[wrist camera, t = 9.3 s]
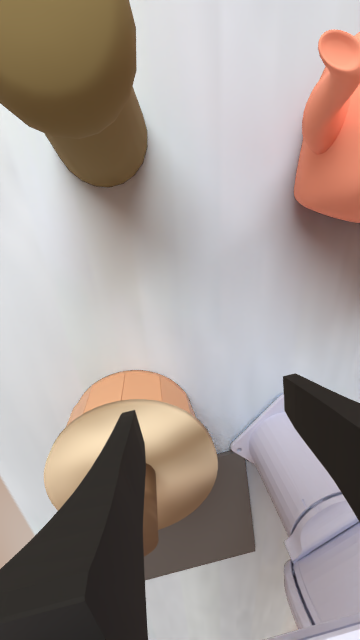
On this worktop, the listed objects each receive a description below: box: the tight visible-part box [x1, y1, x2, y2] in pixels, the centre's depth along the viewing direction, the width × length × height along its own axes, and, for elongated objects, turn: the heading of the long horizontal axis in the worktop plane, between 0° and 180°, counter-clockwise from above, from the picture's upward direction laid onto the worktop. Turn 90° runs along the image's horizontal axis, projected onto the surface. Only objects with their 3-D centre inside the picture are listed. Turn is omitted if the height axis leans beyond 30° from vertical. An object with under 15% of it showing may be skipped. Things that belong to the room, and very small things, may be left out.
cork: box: [0, 0, 147, 187], centre depth 12 cm, size 6×6×11 cm
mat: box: [144, 451, 255, 580], centre depth 30 cm, size 16×17×1 cm
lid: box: [44, 399, 218, 556], centre depth 18 cm, size 13×13×5 cm
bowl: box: [67, 370, 196, 426], centre depth 22 cm, size 11×11×4 cm
